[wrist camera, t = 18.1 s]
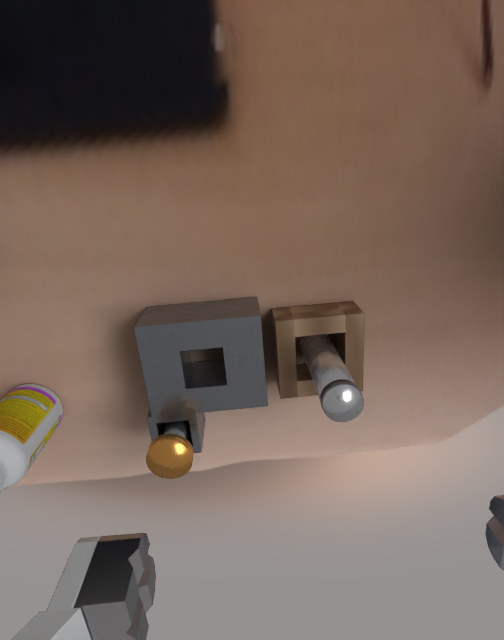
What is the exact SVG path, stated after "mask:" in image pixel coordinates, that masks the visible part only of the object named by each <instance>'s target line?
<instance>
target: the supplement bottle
mask: <svg viewBox="0 0 504 640" xmlns="http://www.w3.org/2000/svg"><path fill="white" fill-rule="evenodd" d="M62 416H63V407H62V404H61V402H60V400H59V398H58V397H57V396H56V394H55V393H53V392H52V391H51V390H49V389H48V388H46V387H43V386H40V385H36V384H24V385H20V386H17V387H15V388H13V389H12V390H11V391H10V392H9V393H7V394H6V395H5V396H4V397H3V398H2V399H1V400H0V491H1V489H5V488H8V487H10V486H12V485H14V484H16V483H17V482H18V481H19V480H21V478H22V477H23V476H24V475H25V473H26V472H27V470H28V469H29V467H30V466H31V464H32V463H33V461H34V460H35V458H36V457H37V456H38V454H39V453H40V451H41V450H42V448H43V447H44V445H45V444H46V443H47V441H48V440H49V438H50V437H51V435H52V434H53V432H54V431H55V429H56V428H57V426H58V425H59V423H60V421H61V419H62Z"/></svg>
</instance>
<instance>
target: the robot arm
mask: <svg viewBox="0 0 504 640" xmlns="http://www.w3.org/2000/svg"><path fill="white" fill-rule="evenodd" d="M489 509H490V511H491V512H492V513H493V515H494V516H493V517H492V518H491V519H490V520H489V522H488V523H487V525H486V539H487V543H488V547H489V549H490V552H491V554H492V556H493V558H494V559H495V561H496V562H497V564H498V565H499V567H500V568H501V569H502V570H504V495H501V496H495V497H493V499H492V500H491V501H490V507H489ZM149 545H150V543H149V541H148V536H147V534H146V533H137V534H124V535H112V536H101V537H90V538H80V539H79V540H78V542H77V543H76V544H75V545H74V548H73V550H72V552H71V554H70V557H69V559H68V561H67V564H66V566H65V569H64V571H63V573H62V576H61V578H60V581H59V583H58V585H57V587H56V590H55V592H54V595H53V597H52V599H51V602H50V604H49V606H48V608H47V611H42V612H39V613H38V614H37V615H36V616H35V617H34V618H33V619H32V620H31V621H30V622H29V623H28V624H27V625H26V626H25V627H24V628H22V629H21V631H19V632H18V634H16V635H15V636H14V637H13V638H12V639H11V640H146V638H147V632H148V622H147V618H146V612H147V611H148V610H149V608H150V607H151V606H152V605H153V599H154V593H155V578H156V574H155V565H154V560H153V558H152V557H151V556H149V555H148V549H149Z"/></svg>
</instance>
